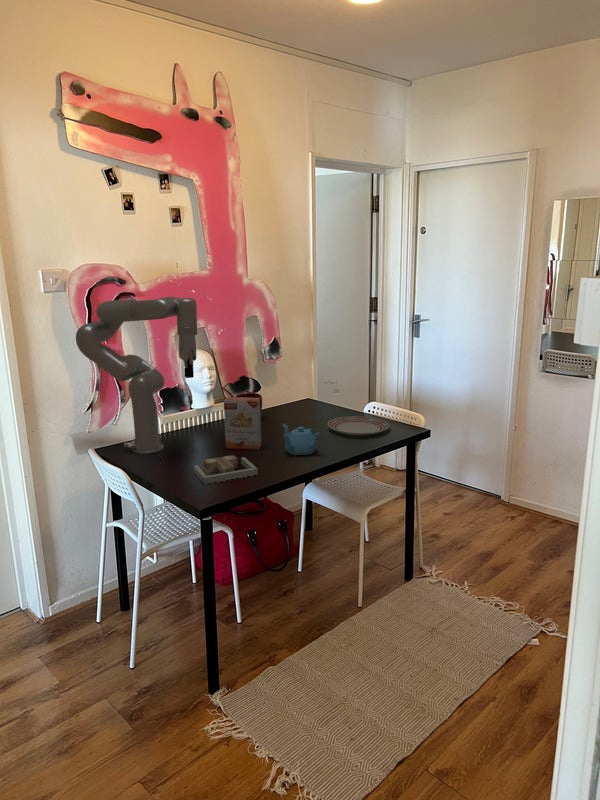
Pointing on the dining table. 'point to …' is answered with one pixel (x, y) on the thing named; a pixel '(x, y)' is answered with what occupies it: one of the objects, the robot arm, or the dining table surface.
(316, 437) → the teapot
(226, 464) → the t block
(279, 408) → the dining table surface
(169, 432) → the dining table surface
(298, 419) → the dining table surface
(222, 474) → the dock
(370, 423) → the dinner plate
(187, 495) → the dining table surface
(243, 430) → the cracker box
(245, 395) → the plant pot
